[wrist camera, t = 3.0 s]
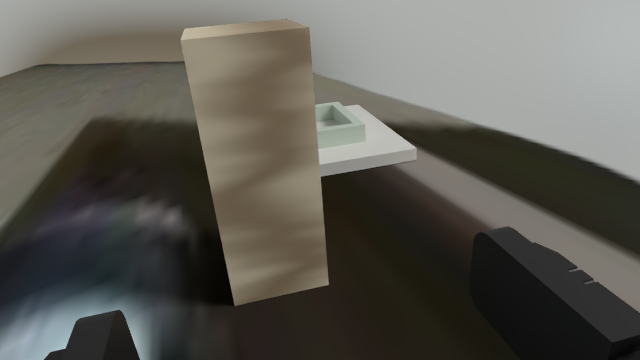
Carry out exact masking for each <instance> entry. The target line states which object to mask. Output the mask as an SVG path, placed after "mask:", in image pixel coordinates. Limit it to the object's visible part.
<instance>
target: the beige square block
mask: <svg viewBox="0 0 640 360" xmlns="http://www.w3.org/2000/svg"><path fill="white" fill-rule="evenodd" d="M309 34H310V33H309V27H307V26H304V25H302V24H299V23H296V22H293V21H291V20H288V19H281V20H271V21H261V22H250V23H239V24H228V25H218V26H209V27H208V26H207V27H197V28H187V29H185V30H184V32H183V35H182V37H181V45H182V50H183V55H184V60H185V65H186V70H187V75H188V80H189V85H190V89H191V94H192V99H193V104H194V109H195V114H196V119H197V124H198V129H199V134H200V138H201V143H202V148H203V153H204V158H205V163H206V168H207V173H208V178H209V183H210V187H211V192H212V197H213V202H214V207H215V212H216V217H217V222H218V227H219V232H220V237H221V241H222V246H223V251H224V256H225V261H226V266H227V271H228V276H229V281H230V286H231V290H232V295H233V300H234V305H235V306H237V305H241V304H246V303H250V302H254V301H259V300H263V299H268V298H272V297H276V296H281V295H285V294H290V293H294V292H299V291H303V290H307V289H312V288H316V287H321V286H325V285H329V283H328V270H327V257H326V244H325V230H324V217H323V204H322V191H321V178H320V165H319V152H318V138H317V125H316V112H315V99H314V86H313V73H312V60H311V47H310V35H309Z"/></svg>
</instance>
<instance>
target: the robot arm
mask: <svg viewBox="0 0 640 360" xmlns="http://www.w3.org/2000/svg"><path fill="white" fill-rule="evenodd" d="M469 289H470V294H471V298H472V300H473V302H474V304H475V306H476V308H477V309H478V311H479V312H480V313H481V314H482V315H483V316H484V318H485V319H486V320H487V321H488V322H489V323H490V325H491V326H492V327H493V328H494V329H495V330H496V332H497V333H498V334H499V335H500V336H501V337H502V338H503V340H504V341H505V342H506V343H507V344H508V345H509V347H510V348H511V349H512V350H513V351H514V352H515V354H516V355H517V356H518V357H519V358H520V359H521V360H640V313H639V312H638V311H636V310H635V309H634V308H632V307H631V306H630V305H628V304H627V303H625V302H624V301H623V300H621V299H620V298H619V297H617V296H616V295H615V294H613V293H612V292H611V291H609V290H608V289H607V288H605V287H604V286H603V285H601V284H600V283H598V282H594V280H593V278H592V277H590V276H589V275H588V274H586V273H585V272H584V271H582V270H578V268H577V266H575V265H574V264H573V263H571V262H570V261H569V260H567V259H566V258H565V257H563V256H562V255H561V254H559V253H558V252H555V251H553V250H551V249H548V248H546V247H544V246H542V245H539V244H537V243H532V242H530V241H529V240H528V239H526V238H525V237H524V236H523V235H521V234H520V233H519V232H517V231H516V230H515V229H513V228H511V227H503V228H498V229H494V230H489V231H485V232H480V233H478V234H477V235H476V236H475V238H474V242H473V251H472V261H471V271H470V280H469ZM44 360H140V358H139V356H138V353H137V350H136V347H135V344H134V342H133V339H132V336H131V333H130V330H129V328H128V325H127V322H126V319H125V317H124V315H123V313H122V312H121V311H120V310H116V311H112V312H107V313H102V314H98V315H93V316H89V317H84V318H80V319H78V320H77V321H76V323H75V325H74V328H73V330H72V333H71V336H70V338H69V341H68V344H67V346H66V349H62V350H58V351H54V352H50V353H49V354H48V356H47V357H46V358H45V359H44Z"/></svg>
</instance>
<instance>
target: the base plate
mask: <svg viewBox="0 0 640 360" xmlns="http://www.w3.org/2000/svg"><path fill="white" fill-rule="evenodd" d="M315 112H316V125H317V138H318V152H319V165H320V177H321V176H327V175H333V174H339V173H345V172H350V171H356V170H362V169H368V168H373V167H379V166H385V165H391V164H396V163H402V162H408V161H414V160H416V151H417V148H415V147H414V146H413V145H411V144H410V143H409V142H407V141H406V140H405V139H403V138H402V137H401V136H399V135H398V134H397V133H395V132H394V131H393V130H391V129H390V128H389V127H387V126H386V125H385V124H383V123H382V122H381V121H379V120H378V119H377V118H375V117H374V116H372V115H371V114H370V113H368V112H367V111H366V110H364V109H363V108H362V107H360V106H359V105H352V106H345V107H344V106H343V105H341V104H340V103H339V102H332V103H325V104H318V105H315Z"/></svg>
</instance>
